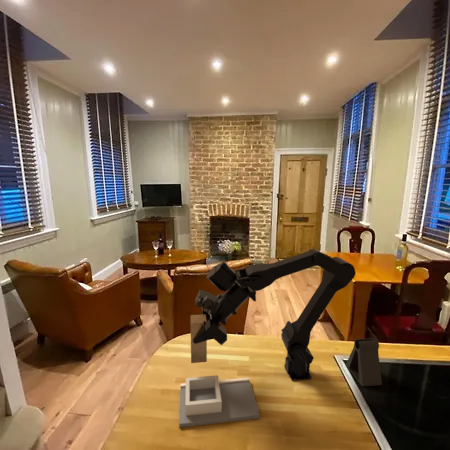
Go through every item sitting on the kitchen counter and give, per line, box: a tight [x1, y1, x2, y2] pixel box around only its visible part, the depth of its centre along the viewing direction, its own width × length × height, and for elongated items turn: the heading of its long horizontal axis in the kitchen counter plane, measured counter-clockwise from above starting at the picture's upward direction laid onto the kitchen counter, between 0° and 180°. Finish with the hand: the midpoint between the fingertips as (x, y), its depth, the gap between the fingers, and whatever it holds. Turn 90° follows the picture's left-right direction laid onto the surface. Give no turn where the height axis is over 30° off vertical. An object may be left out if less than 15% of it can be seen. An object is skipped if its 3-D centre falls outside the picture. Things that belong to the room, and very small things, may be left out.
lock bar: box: [190, 314, 208, 364], centre depth 76 cm, size 4×4×12 cm
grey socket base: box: [178, 374, 261, 428], centre depth 69 cm, size 20×12×4 cm, turn 98°
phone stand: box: [345, 338, 383, 387], centre depth 79 cm, size 9×6×12 cm, turn 5°
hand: (193, 337), depth 76 cm, fingers closed on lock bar, 4 cm apart
